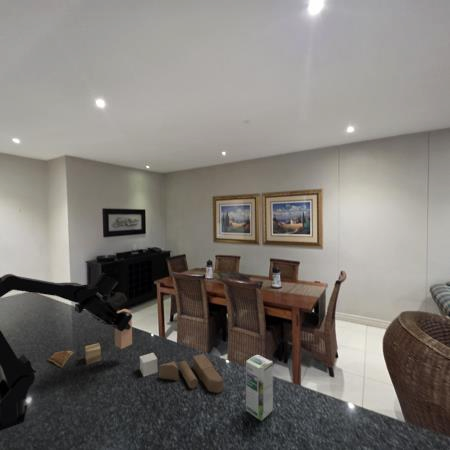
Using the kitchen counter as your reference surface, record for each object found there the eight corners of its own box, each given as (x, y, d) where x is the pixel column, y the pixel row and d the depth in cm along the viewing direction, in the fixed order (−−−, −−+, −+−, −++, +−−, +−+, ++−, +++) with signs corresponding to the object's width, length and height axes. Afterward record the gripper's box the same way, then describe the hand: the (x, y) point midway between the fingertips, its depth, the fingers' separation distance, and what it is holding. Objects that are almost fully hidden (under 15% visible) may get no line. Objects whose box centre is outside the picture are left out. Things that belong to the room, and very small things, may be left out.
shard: (62, 369, 94) (62, 364, 94) (39, 372, 92) (39, 367, 92) (73, 354, 104) (73, 349, 104) (53, 356, 103) (53, 352, 103)
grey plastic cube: (157, 372, 91) (157, 358, 90) (143, 377, 88) (143, 363, 88) (153, 365, 95) (153, 352, 95) (140, 369, 92) (139, 356, 92)
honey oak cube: (100, 360, 99) (100, 348, 98) (86, 364, 96) (86, 351, 96) (99, 354, 103) (99, 342, 103) (85, 358, 100) (85, 346, 100)
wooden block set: (202, 349, 96) (224, 375, 80) (203, 364, 96) (224, 392, 80) (158, 361, 88) (171, 392, 72) (158, 377, 88) (172, 411, 72)
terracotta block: (121, 348, 94) (120, 314, 94) (115, 345, 96) (114, 312, 96) (132, 344, 97) (131, 311, 97) (125, 340, 100) (124, 308, 100)
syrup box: (245, 410, 72) (244, 361, 71) (258, 400, 76) (257, 353, 75) (261, 422, 67) (260, 369, 67) (273, 410, 72) (273, 360, 71)
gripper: (126, 291, 88) (153, 312, 97) (100, 283, 99) (126, 303, 108) (105, 321, 82) (135, 341, 91) (79, 309, 93) (108, 328, 102)
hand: (126, 326), depth 98 cm, fingers closed on terracotta block, 4 cm apart
